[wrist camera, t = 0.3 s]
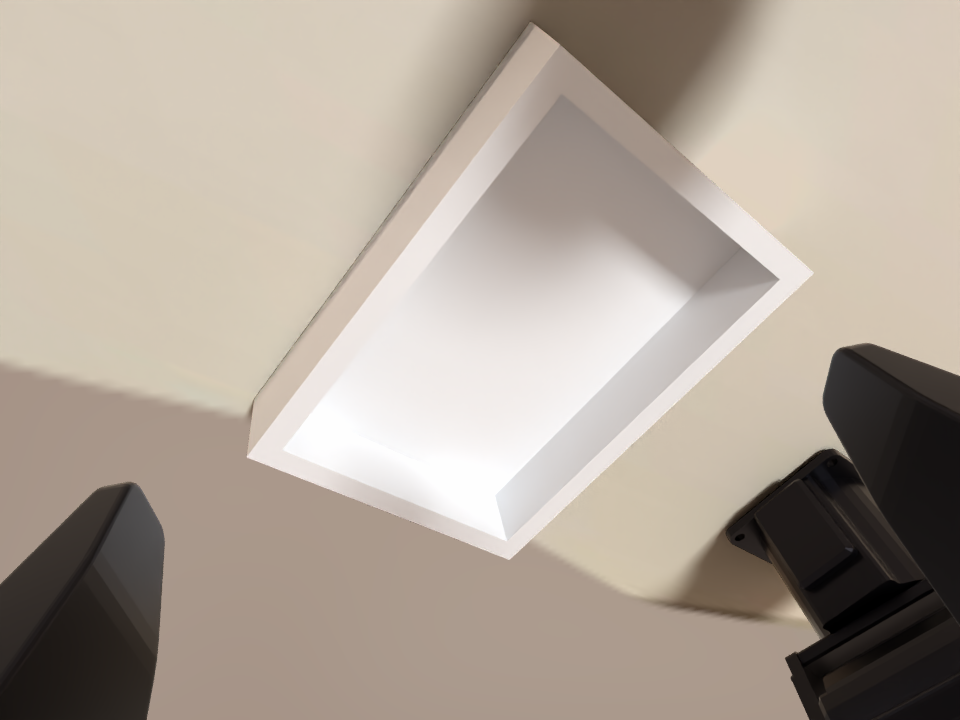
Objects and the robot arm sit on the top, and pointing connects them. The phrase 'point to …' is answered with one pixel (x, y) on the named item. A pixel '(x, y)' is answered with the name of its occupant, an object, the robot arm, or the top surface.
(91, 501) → the robot arm
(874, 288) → the top surface
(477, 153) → the white open box
